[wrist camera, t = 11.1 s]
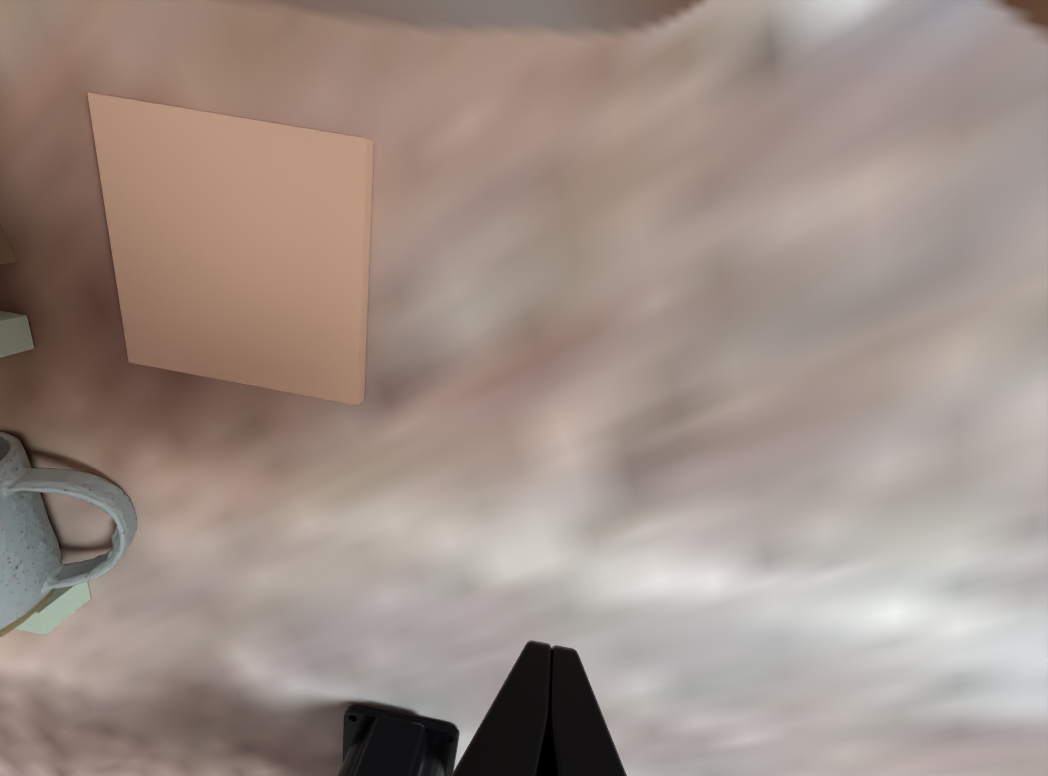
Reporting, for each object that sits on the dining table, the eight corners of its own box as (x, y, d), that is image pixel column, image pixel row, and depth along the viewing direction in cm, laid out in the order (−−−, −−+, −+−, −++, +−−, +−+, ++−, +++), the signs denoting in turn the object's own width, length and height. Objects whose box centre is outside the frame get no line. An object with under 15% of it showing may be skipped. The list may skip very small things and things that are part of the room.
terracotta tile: (364, 400, 21) (358, 405, 20) (140, 357, 21) (128, 362, 21) (373, 140, 17) (366, 138, 17) (103, 95, 18) (86, 92, 17)
